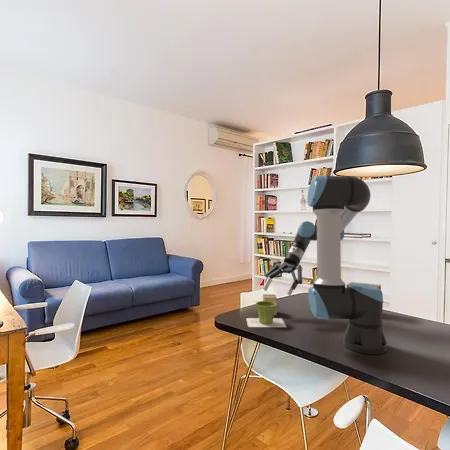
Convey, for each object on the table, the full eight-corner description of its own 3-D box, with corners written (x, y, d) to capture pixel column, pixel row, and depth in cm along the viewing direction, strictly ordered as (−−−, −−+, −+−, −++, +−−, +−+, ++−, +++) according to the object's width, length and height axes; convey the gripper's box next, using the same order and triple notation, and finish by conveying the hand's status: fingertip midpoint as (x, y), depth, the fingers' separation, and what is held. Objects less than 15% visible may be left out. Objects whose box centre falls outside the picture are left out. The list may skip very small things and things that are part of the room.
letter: (286, 327, 143) (286, 327, 143) (248, 327, 143) (248, 326, 143) (281, 318, 155) (281, 318, 155) (246, 318, 155) (246, 318, 155)
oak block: (276, 315, 160) (276, 297, 160) (264, 315, 160) (264, 297, 159) (274, 311, 166) (274, 294, 166) (262, 311, 166) (263, 294, 165)
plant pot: (266, 327, 142) (266, 307, 142) (251, 321, 149) (251, 303, 149) (280, 322, 148) (280, 304, 148) (264, 317, 155) (265, 299, 155)
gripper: (270, 250, 171) (252, 283, 160) (313, 254, 153) (296, 291, 143) (276, 259, 175) (258, 292, 164) (318, 264, 157) (302, 301, 147)
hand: (276, 291), depth 154 cm, fingers open, 13 cm apart
